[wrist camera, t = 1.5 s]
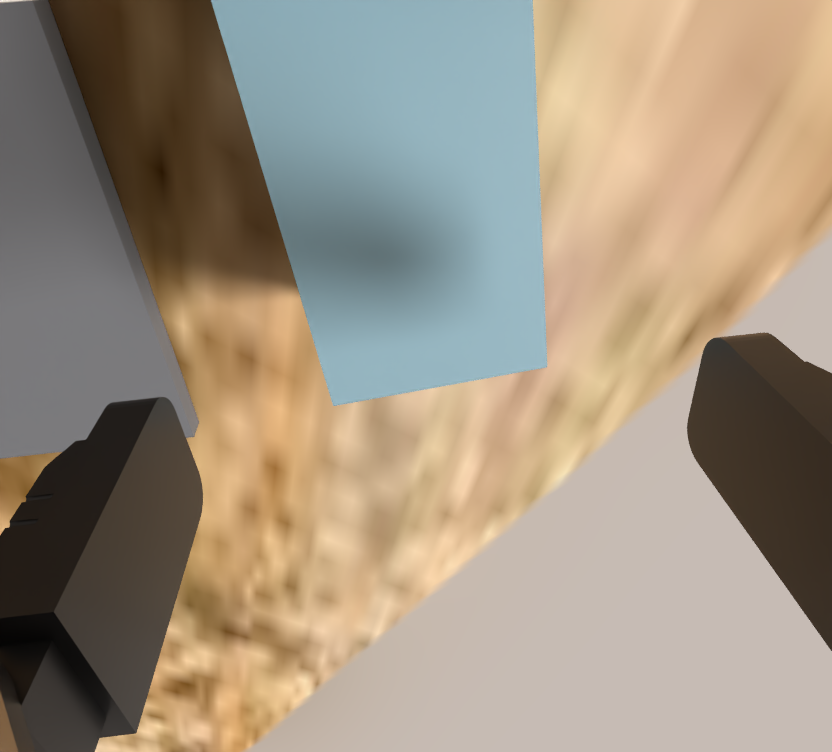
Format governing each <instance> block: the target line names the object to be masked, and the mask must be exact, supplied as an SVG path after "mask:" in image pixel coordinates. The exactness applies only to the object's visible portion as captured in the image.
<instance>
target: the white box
mask: <svg viewBox="0 0 832 752" xmlns="http://www.w3.org/2000/svg"><path fill="white" fill-rule="evenodd" d="M21 1H34V0H0V3H9V2H21Z"/></svg>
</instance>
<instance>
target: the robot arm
mask: <svg viewBox="0 0 832 752" xmlns="http://www.w3.org/2000/svg"><path fill="white" fill-rule="evenodd" d="M687 432H688V440H689V444H690V448H691V451H692V453H693V455H694V457H695V459H696V461H697V462H698V464H699V465H700V467H701V468H702V469H703V471H704V472H705V474H706V475H707V476H708V478H709V479H710V481H711V482H712V483H713V485H714V486H715V488H716V489H717V490H718V492H719V493H720V495H721V496H722V497H723V499H724V500H725V502H726V503H727V504H728V506H729V507H730V509H731V510H732V512H733V513H734V514H735V516H736V517H737V519H738V520H739V521H740V523H741V524H742V526H743V527H744V529H745V530H746V531H747V533H748V534H749V535H750V537H751V538H752V540H753V541H754V542H755V544H756V545H757V547H758V548H759V550H760V551H761V552H762V554H763V555H764V556H765V558H766V559H767V561H768V562H769V564H770V565H771V566H772V568H773V569H774V571H775V572H776V574H777V575H778V576H779V578H780V579H781V580H782V582H783V583H784V585H785V586H786V587H787V589H788V590H789V592H790V593H791V595H792V596H793V597H794V599H795V600H796V602H797V603H798V604H799V606H800V607H801V609H802V610H803V611H804V613H805V614H806V615H807V617H808V618H809V620H810V621H811V623H812V624H813V626H814V627H815V628H816V630H817V631H818V633H819V634H820V635H821V637H822V638H823V640H824V641H825V642H826V644H827V645H828V647H829V648H830V649H831V651H832V373H830V372H828V371H826V370H824V369H822V368H819V367H817V366H815V365H813V364H811V363H809V362H804V361H803V360H802V359H800V358H799V357H798V356H797V355H796V354H795V353H793V352H792V351H791V350H790V349H789V348H787V347H786V346H785V345H784V344H783V343H781V342H780V341H779V340H778V339H777V338H776V337H774V336H772V335H771V334H769V333H756V334H746V335H737V336H728V337H719V338H713V339H711V340H710V341H709V342H708V343H707V345H706V346H705V348H704V351H703V355H702V359H701V364H700V368H699V373H698V377H697V381H696V386H695V391H694V395H693V399H692V404H691V408H690V413H689V418H688V425H687ZM202 505H203V491H202V483H201V478H200V474H199V471H198V469H197V466H196V463H195V461H194V458H193V455H192V453H191V450H190V448H189V445H188V442H187V440H186V437H185V434H184V432H183V429H182V426H181V424H180V421H179V418H178V416H177V413H176V410H175V408H174V406H173V404H172V403H171V401H170V400H169V399H168V398H166V397H156V398H147V399H138V400H129V401H120V402H112V403H110V404H108V405H107V406H106V408H105V409H104V411H103V412H102V414H101V416H100V417H99V419H98V421H97V422H96V424H95V426H94V427H93V429H92V431H91V432H90V434H89V436H88V437H87V439H86V440H79V441H75V442H74V443H73V444H71V445H70V446H69V447H68V448H67V449H66V450H64V451H63V452H62V453H61V454H60V455H59V456H57V457H56V458H55V459H54V460H53V461H52V462H50V463H49V464H48V465H47V466H46V467H45V468H44V469H43V471H42V472H41V474H40V475H39V477H38V478H37V480H36V482H35V483H34V485H33V486H32V488H31V489H30V491H29V492H28V494H27V495H26V502H22V503H21V505H20V506H19V508H18V509H17V511H16V512H15V514H14V515H13V517H12V518H11V520H10V527H9V528H5V529H4V531H3V532H2V534H1V535H0V752H95V749H96V746H97V743H98V740H99V738H102V737H110V736H118V735H126V734H134V733H136V732H137V729H138V726H139V722H140V719H141V715H142V712H143V709H144V705H145V702H146V699H147V695H148V692H149V689H150V685H151V682H152V678H153V675H154V672H155V668H156V665H157V662H158V658H159V655H160V652H161V648H162V645H163V641H164V638H165V635H166V631H167V628H168V625H169V621H170V618H171V614H172V611H173V608H174V604H175V601H176V598H177V594H178V591H179V588H180V584H181V581H182V577H183V574H184V571H185V567H186V564H187V561H188V557H189V554H190V551H191V547H192V544H193V540H194V537H195V534H196V530H197V527H198V524H199V520H200V517H201V513H202Z"/></svg>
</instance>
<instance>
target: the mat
mask: <svg viewBox="0 0 832 752" xmlns="http://www.w3.org/2000/svg"><path fill="white" fill-rule="evenodd" d="M156 397H166V398H168V399H169V400H170V401H171V403H172V404H173V406H174V408H175V410H176V413H177V416H178V418H179V421H180V424H181V426H182V429H183V432H184V434H185V437H186V438H188V437H194V435H195V432H196V430H197V427H198V424H199V421H198V418H197V415H196V412H195V409H194V407H193V404H192V401H191V398H190V395H189V393H188V390H187V387H186V384H185V381H184V379H183V376H182V373H181V370H180V367H179V365H178V362H177V359H176V356H175V354H174V351H173V348H172V345H171V342H170V340H169V337H168V334H167V331H166V328H165V326H164V323H163V320H162V317H161V314H160V312H159V309H158V306H157V303H156V300H155V298H154V295H153V292H152V289H151V286H150V284H149V281H148V278H147V275H146V273H145V270H144V267H143V264H142V261H141V259H140V256H139V253H138V250H137V247H136V245H135V242H134V239H133V236H132V233H131V231H130V228H129V225H128V222H127V219H126V217H125V214H124V211H123V208H122V205H121V203H120V200H119V197H118V194H117V192H116V189H115V186H114V183H113V180H112V178H111V175H110V172H109V169H108V166H107V164H106V161H105V158H104V155H103V152H102V150H101V147H100V144H99V141H98V138H97V136H96V133H95V130H94V127H93V124H92V122H91V119H90V116H89V113H88V110H87V108H86V105H85V102H84V99H83V97H82V94H81V91H80V88H79V85H78V83H77V80H76V77H75V74H74V71H73V69H72V66H71V63H70V60H69V57H68V55H67V52H66V49H65V46H64V43H63V41H62V38H61V35H60V32H59V29H58V27H57V24H56V21H55V18H54V16H53V13H52V10H51V7H50V4H49V2H48V0H34V1H21V2H9V3H0V458H9V457H18V456H27V455H36V454H45V453H54V452H63V451H64V450H66V449H67V448H68V447H69V446H70V445H71V444H73V443H74V442H75V441H79V440H86V439H87V437H88V436H89V434H90V432H91V431H92V429H93V427H94V426H95V424H96V422H97V421H98V419H99V417H100V416H101V414H102V412H103V411H104V409H105V408H106V406H107V405H108V404H110V403H112V402H120V401H129V400H138V399H147V398H156Z"/></svg>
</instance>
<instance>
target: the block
mask: <svg viewBox="0 0 832 752" xmlns="http://www.w3.org/2000/svg"><path fill="white" fill-rule="evenodd" d="M211 2H212V5H213V9H214V12H215V15H216V19H217V22H218V25H219V29H220V32H221V35H222V39H223V42H224V45H225V49H226V52H227V55H228V58H229V62H230V65H231V68H232V72H233V75H234V78H235V82H236V85H237V88H238V92H239V95H240V98H241V102H242V105H243V108H244V112H245V115H246V118H247V121H248V125H249V128H250V131H251V135H252V138H253V141H254V145H255V148H256V151H257V155H258V158H259V161H260V165H261V168H262V171H263V174H264V178H265V181H266V184H267V188H268V191H269V194H270V198H271V201H272V204H273V208H274V211H275V214H276V218H277V221H278V224H279V228H280V231H281V234H282V237H283V241H284V244H285V247H286V251H287V254H288V257H289V261H290V264H291V267H292V271H293V274H294V277H295V281H296V284H297V287H298V291H299V294H300V297H301V300H302V304H303V307H304V310H305V314H306V317H307V320H308V324H309V327H310V330H311V334H312V337H313V340H314V344H315V347H316V350H317V354H318V357H319V360H320V363H321V367H322V370H323V373H324V377H325V380H326V383H327V387H328V390H329V393H330V397H331V400H332V403H333V406H336V405H342V404H347V403H353V402H358V401H364V400H369V399H375V398H380V397H386V396H391V395H397V394H402V393H408V392H413V391H419V390H424V389H430V388H435V387H441V386H446V385H452V384H457V383H463V382H468V381H474V380H479V379H485V378H490V377H496V376H501V375H507V374H512V373H518V372H523V371H529V370H534V369H540V368H545V367H547V348H546V323H545V299H544V274H543V249H542V224H541V199H540V174H539V149H538V124H537V99H536V74H535V49H534V25H533V0H211Z"/></svg>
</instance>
